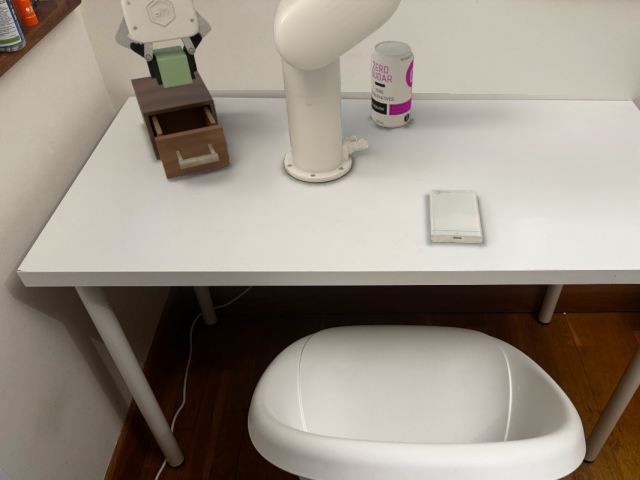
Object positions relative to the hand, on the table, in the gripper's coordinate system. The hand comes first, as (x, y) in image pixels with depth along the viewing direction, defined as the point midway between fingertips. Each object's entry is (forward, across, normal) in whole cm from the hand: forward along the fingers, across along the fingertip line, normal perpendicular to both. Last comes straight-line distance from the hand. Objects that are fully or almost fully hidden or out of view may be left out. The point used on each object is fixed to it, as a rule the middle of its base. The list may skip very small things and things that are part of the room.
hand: (175, 77), depth 92 cm
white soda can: (+17, +41, +2) cm, 45 cm away
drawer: (+16, 0, +1) cm, 17 cm away
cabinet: (+17, 0, +13) cm, 22 cm away
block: (0, 0, 0) cm, 0 cm away
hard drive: (+17, +36, -33) cm, 52 cm away
